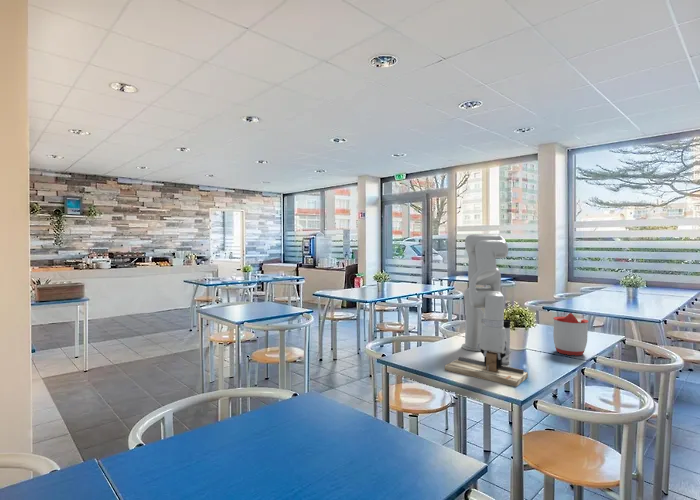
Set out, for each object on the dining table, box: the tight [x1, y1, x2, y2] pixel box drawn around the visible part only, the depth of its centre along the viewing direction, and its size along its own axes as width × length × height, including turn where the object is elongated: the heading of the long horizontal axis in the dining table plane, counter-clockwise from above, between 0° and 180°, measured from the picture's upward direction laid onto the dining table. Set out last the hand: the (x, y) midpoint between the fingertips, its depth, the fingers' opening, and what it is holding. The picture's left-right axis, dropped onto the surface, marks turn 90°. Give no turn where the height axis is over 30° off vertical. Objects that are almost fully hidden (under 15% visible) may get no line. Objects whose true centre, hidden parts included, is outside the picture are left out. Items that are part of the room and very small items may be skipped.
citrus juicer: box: [553, 312, 589, 356], centre depth 209 cm, size 16×17×20 cm
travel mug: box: [502, 318, 512, 366], centre depth 190 cm, size 6×7×20 cm
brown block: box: [486, 351, 500, 372], centre depth 172 cm, size 8×4×7 cm, turn 140°
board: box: [444, 356, 529, 388], centre depth 175 cm, size 14×30×4 cm, turn 50°
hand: (492, 366), depth 174 cm, fingers closed on brown block, 4 cm apart
